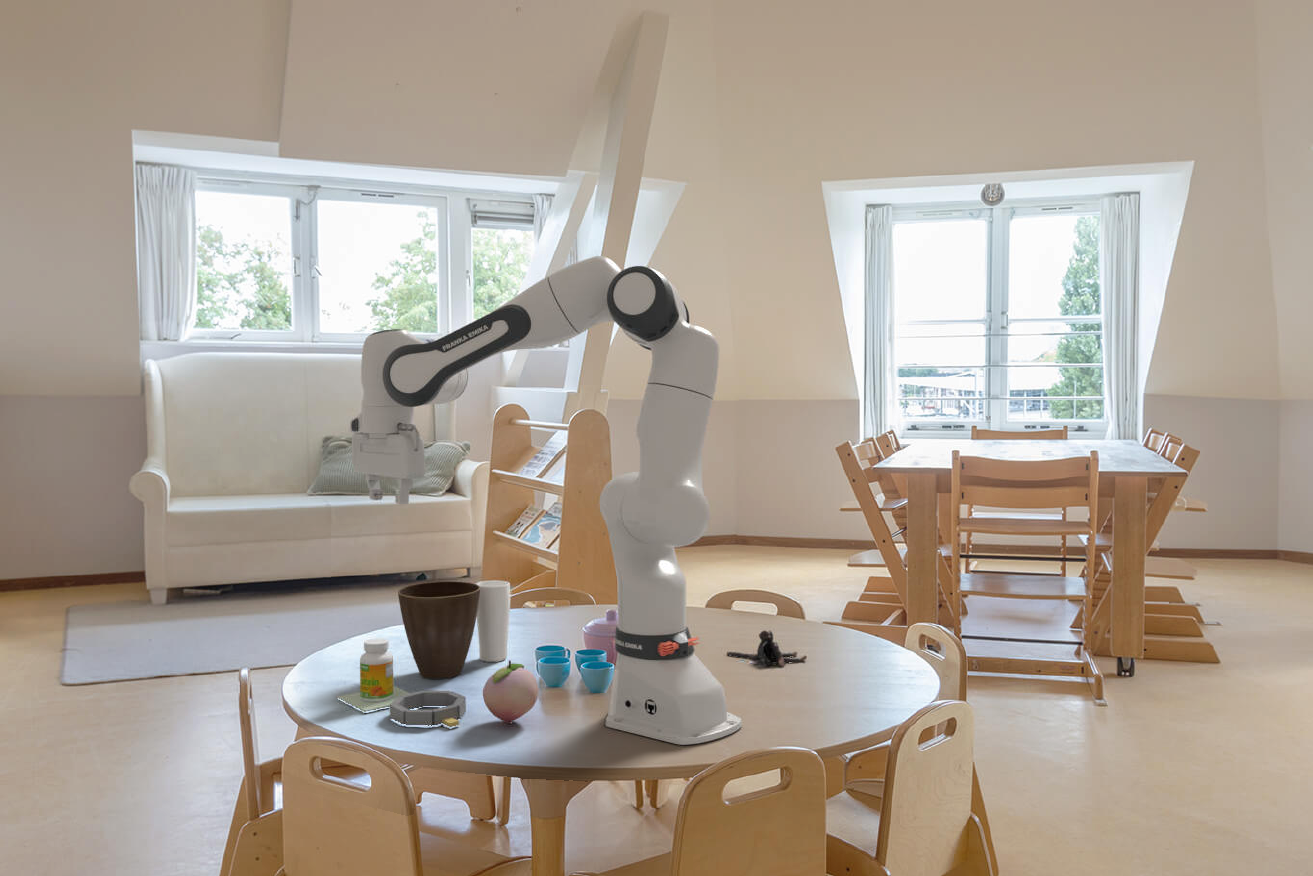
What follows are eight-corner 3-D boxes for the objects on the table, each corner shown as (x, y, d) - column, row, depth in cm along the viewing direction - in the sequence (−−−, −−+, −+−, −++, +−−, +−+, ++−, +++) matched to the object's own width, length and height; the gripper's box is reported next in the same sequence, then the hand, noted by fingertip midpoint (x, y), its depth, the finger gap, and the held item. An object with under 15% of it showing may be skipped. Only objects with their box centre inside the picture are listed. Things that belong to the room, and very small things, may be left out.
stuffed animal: (812, 662, 189) (761, 627, 187) (782, 704, 189) (731, 670, 187) (797, 645, 200) (750, 613, 199) (770, 685, 200) (722, 653, 199)
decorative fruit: (528, 734, 151) (528, 670, 150) (477, 731, 152) (476, 667, 152) (545, 715, 160) (545, 654, 160) (497, 712, 161) (496, 651, 161)
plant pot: (440, 690, 173) (439, 600, 173) (381, 677, 181) (380, 591, 181) (497, 670, 186) (497, 586, 185) (440, 659, 194) (439, 578, 193)
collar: (485, 720, 158) (484, 704, 157) (422, 736, 150) (422, 720, 150) (433, 698, 169) (433, 683, 169) (373, 712, 161) (373, 697, 161)
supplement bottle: (354, 701, 165) (353, 644, 165) (370, 692, 170) (370, 636, 170) (383, 704, 164) (382, 646, 164) (399, 694, 169) (398, 638, 169)
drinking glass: (514, 655, 197) (513, 580, 196) (506, 664, 190) (505, 587, 190) (481, 654, 198) (480, 579, 197) (471, 663, 191) (470, 586, 190)
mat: (419, 701, 167) (419, 697, 167) (364, 714, 161) (364, 710, 161) (391, 688, 175) (391, 685, 175) (337, 700, 168) (337, 696, 168)
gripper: (434, 423, 167) (435, 505, 168) (377, 421, 182) (378, 496, 183) (400, 424, 163) (401, 508, 163) (345, 422, 178) (346, 498, 178)
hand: (388, 501), depth 173 cm, fingers open, 8 cm apart
